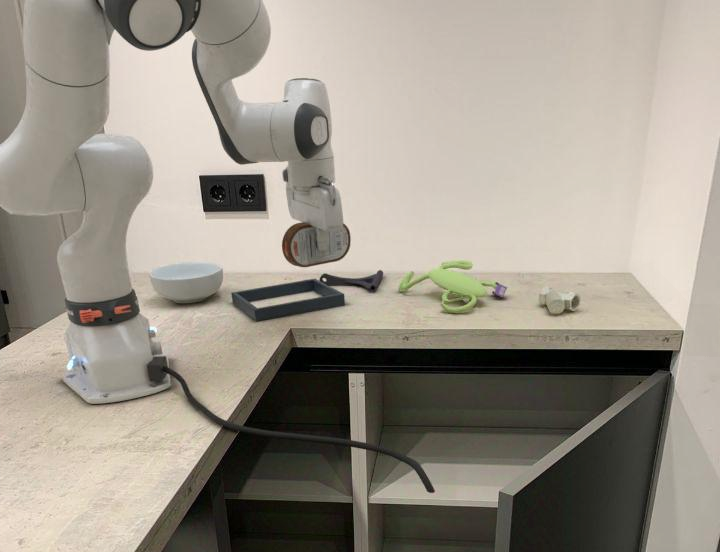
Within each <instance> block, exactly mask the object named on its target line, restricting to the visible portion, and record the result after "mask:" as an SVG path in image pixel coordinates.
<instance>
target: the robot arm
mask: <svg viewBox="0 0 720 552" xmlns="http://www.w3.org/2000/svg"><path fill="white" fill-rule="evenodd" d="M22 16H23V18H22V23H23V24H22V42H23V44H22V45H23V54H24V55H23V56H24V67H25V82H26V83H25V84H26V85H25V86H26V87H25V89H26V91H25V92H26V95H25V96H26V99H25V107H24V110H23V114H22V116H21V118H20V121H19V122H18V123H17V126H16V127H15V129H14V130H13V132H11V134H10V135H9V136H8V137H7V138H6V139H5V140H4V141H3V142H1V143H0V208H1V209H3V210H4V211H5V212H7V213H8V214H9V215H12V216H13V215H14V216H15V215H16V216H30V217H45V216H47V217H48V216H53V215H60V214H67V213H75V212H76V213H77V212H83V219H82V223H81V225H80V227H79V228H78V229H77V231H75V232H74V233H73V234H71V235H69V236H68V237H67V238H66V239H65V240H64V241H63V242H62V243H61V244H60V246H59V247H58V250H57V253H56V262H57V266H58V270H59V273H60V277H61V281H62V286H63V289H64V293H65V298H64V305H65V306H64V307H65V311H66V313H67V317H68V320H69V322H70V323H69V326H68V327H67V329H66V330H65V331H64V332H63V338H64V341H65V346H66V350H67V355H68V360H69V362H68V363H67V365H66V368H67V370H68V371H67V372H66V373H63V374H62V381H63V383H65V384H66V385H67V386H68V387H69V388H70V389H71V390H72V391H73V392H74V393H76V394H77V395H78V396H79V397H81V398H82V399H83V400H84V401H85V402H86V403H88V404H89V405H91V404H93V405H94V404H95V405H96V404H97V405H99V404H109V403H117V402H122V401H128V400H133V399H137V398H141V397H146V396H150V395H153V394H157V393H160V392H161V391H165V390H167V389H169V388H170V387H171V386H172V382H171V381H172V380H171V377H173V378H174V379H175V380H176V381H178V382H179V384H180V385H181V388H182V391H183V393H184V395H185V396H186V398H187V400H188V401H189V402H190V403H191V404H192V406H194V407H195V408H196V409H197V410H198V411H200V412H201V413H202V414H204V415H205V416H206V417H207V418H208V419H210V420H211V421H212V422H214V423H215V424H218V425H220V426H222V427H224V428H227V429H229V430H233V431H237V432H240V433H245V434H249V435H253V436H259V437H263V438H264V437H266V438H270V439H271V438H272V439H281V440H291V441H299V442H300V441H301V442H307V443H308V442H309V443H317V444H328V445H336V446H344V447H351V448H356V449H361V450H367V451H371V452H375V453H380V454H384V455H387V456H390V457H391V458H394V459H396V460H398V461H400V462H402V463H403V464H406V465H408V466H409V467H411V468H412V469H413V470H414V471H415V473H416V474H417V475H418V477H419V479H420V481H421V482H422V484H423V486H424V488H425V490H426V492H428V493H429V494H434V493H435V492H436V491H435V490H436V489H435V487H434V485H433V484H432V482H431V480H430V478H429V476H428V475H427V473H426V471H425V470H424V468H423V467H422V465H421V464H420V463H419V462H418V461H416V460H415V459H413V458H412V457H409V456H407V455H406V454H403V453H401V452H399V451H397V450H395V449H391V448H389V447H386V446H382V445H378V444H373V443H368V442H363V441H357V440H352V439H346V438H339V437H331V436H319V435H311V434H303V433H302V434H301V433H294V432H293V433H292V432H290V433H289V432H282V431H274V430H266V429H260V428H255V427H249V426H245V425H240V424H237V423H233V422H230V421H228V420H225V419H223V418H221V417H219V416H217V415H216V414H214V413H213V412H212V411H211V410H210V409H208V408H207V407H206V406H205V405H203V404H202V403H200V401H198V400H197V398H195V397H194V396H193V394H192V393H191V391H190V389H189V385H188V383H187V382H186V380H185V378H183V376H182V375H181V374H179V373H178V372H177V371H175V370H173V369H172V368H170V360H169V357H168V355H166V354H163V349H162V344H161V341H153V339H155V338H156V336H157V335H156V333H157V330H158V329H157V327H155V326H151V325H150V321H149V318H148V317H146V316H144V315H143V314H141V313H140V311H141V310H140V306H139V299H138V296H137V292H136V290H135V289H134V288H133V287H132V286H133V285H132V281H131V276H130V275H131V274H130V270H129V263H128V253H127V236H128V230H129V225H130V223H131V220H132V217H133V215H134V213H135V211H136V209H137V208H138V206H139V205H140V203H141V202H142V201H143V200H144V199H145V198H146V197H147V196H148V194H149V192H150V190H151V188H152V185H153V181H154V168H153V162H152V159H151V157H150V155H149V153H148V151H147V149H146V147H144V145H143V144H142V143H141V142H140V141H139V139H137V138H135V137H133V136H130V135H121V134H113V133H100V132H101V130H103V128H104V126H105V125H106V123H107V121H108V118H109V115H110V100H111V99H110V89H111V88H110V87H111V86H110V84H111V83H110V81H111V80H110V79H111V78H110V76H111V75H110V73H111V72H110V71H111V70H110V69H111V68H110V65H111V61H110V60H111V59H110V45H111V41H112V36H113V34H114V32H115V31H116V33H118V35H119V36H120V37H121V38H122V39H123V40H124V41H126V42H127V43H128V44H129V45H131V46H132V47H134V48H136V49H138V50H141V51H146V52H150V51H151V52H152V51H158V50H162V49H165V48H167V47H170V46H171V45H173V44H174V43H176V42H178V41H179V40H181V38H183V36H184V35H185V34H186V33H189V32H190V31H191V33H192V34H193V36H194V40H193V43H192V46H191V47H192V48H191V62H192V67H193V71H194V74H195V77H196V80H197V82H198V85H199V88H200V90H201V93H202V94H203V97H204V99H205V102H206V103H207V106H208V108H209V110H210V113H211V115H212V118H213V120H214V122H215V124H216V127H217V131H218V135H219V139H220V143H221V146H222V148H223V150H224V152H225V153H226V154H227V156H228V157H229V158H230V159H231V160H232V161H233V162H235V163H236V164H238V165H240V166H241V165H242V166H243V165H253V164H258V163H285V162H287V165H286V167H285V168H283V170H282V172H281V175H282V181H283V182H284V183H285V193H286V201H287V207H288V212H289V216H290V218H291V219H293V220H295V221H299V222H300V223H302V222H306V223H308V224H310V225H311V226H313V227H316V233H317V240H316V249H318V250H320V251H322V250H326V249H327V237H328V233H329V232H331V231H338V230H341V229H342V227H343V223H344V215H343V214H344V213H343V204H342V199H341V193H340V191H339V189H338V188H337V187H336V185H335V183H336V172H335V171H336V170H335V155H334V154H335V153H334V150H333V148H332V135H333V122H332V121H333V120H332V113H331V105H330V100H329V95H328V90H327V86H326V84H325V83H324V82H323V81H321V80H319V79H316V78H308V77H299V78H297V77H296V78H292V79H289V80H287V81H285V83H284V88H283V99H282V100H281V101H277V102H256V103H255V102H249V101H244V100H241V99H240V98H239V96H238V94H237V91H236V88H235V86H234V85H235V84H234V83H233V80H235V79H237V78H240V77H243V76H245V75H247V74H248V73H250V72H252V71H253V70H254V69H255V67H257V66H258V65H259V64H260V62H261V61H262V60H263V58H264V57H265V55H266V53H267V51H268V49H269V45H270V40H271V33H272V27H271V20H270V17H269V12H268V11H267V8H266V5H265V3H264V1H263V0H24V5H23V15H22Z"/></svg>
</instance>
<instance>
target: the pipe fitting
mask: <svg viewBox="0 0 720 552" xmlns="http://www.w3.org/2000/svg"><path fill="white" fill-rule="evenodd" d="M581 300H582V299H581V295H580V294H579V293H577V292H571V291H570V292H567V291H564V290H559V289H553V288H552V287H548V286H544V287H542V289H541V290H540V292H539V295H538V303H539V304H541V305H544V306H547V309H548V311H549V313H550V314H552V315H560V314H561V313H563V312H564V310H566V311H569V312H576V311H577V310H578V309H579V307H580V306H581Z"/></svg>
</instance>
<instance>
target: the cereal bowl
mask: <svg viewBox="0 0 720 552" xmlns="http://www.w3.org/2000/svg"><path fill="white" fill-rule="evenodd" d="M148 275H149V280H150V284H151V287H152V289H153V290H154V292H155V293H156V294H157V295H158V296H160V297H161V298H162V297H163V298H165V299H167V300H171V301H173V302H174V303H175V304H176V303H177V304H195V303H199V302H203V301H205V300H206V299H207V298H208V297H210V296H212V295H214V294H215V293H216V292H218V291H219V290H220V289H221V287H222V284H223V281H224V269H223V266H222V265H221V264H219V263H216V262H215V263H214V262H208V261H185V262H176V263H170V264H165V265H162V266H159V267H156V268H154V269H152V270H151V271H150V272H149V273H148Z"/></svg>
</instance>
